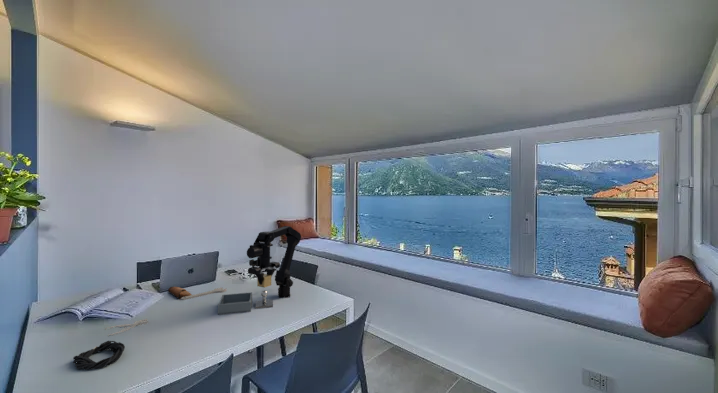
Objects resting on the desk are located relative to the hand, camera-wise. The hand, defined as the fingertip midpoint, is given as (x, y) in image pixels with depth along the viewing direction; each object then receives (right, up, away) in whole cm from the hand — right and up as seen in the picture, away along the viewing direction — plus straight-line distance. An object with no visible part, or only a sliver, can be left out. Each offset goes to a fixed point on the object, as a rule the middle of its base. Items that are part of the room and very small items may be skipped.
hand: (264, 283), depth 165 cm
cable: (-43, -13, -55) cm, 71 cm away
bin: (-14, -12, -4) cm, 19 cm away
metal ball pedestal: (0, -12, 0) cm, 12 cm away
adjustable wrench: (-41, -12, +16) cm, 46 cm away
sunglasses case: (-56, -12, +16) cm, 59 cm away
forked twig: (-53, -12, -29) cm, 62 cm away
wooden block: (0, -1, 0) cm, 1 cm away
